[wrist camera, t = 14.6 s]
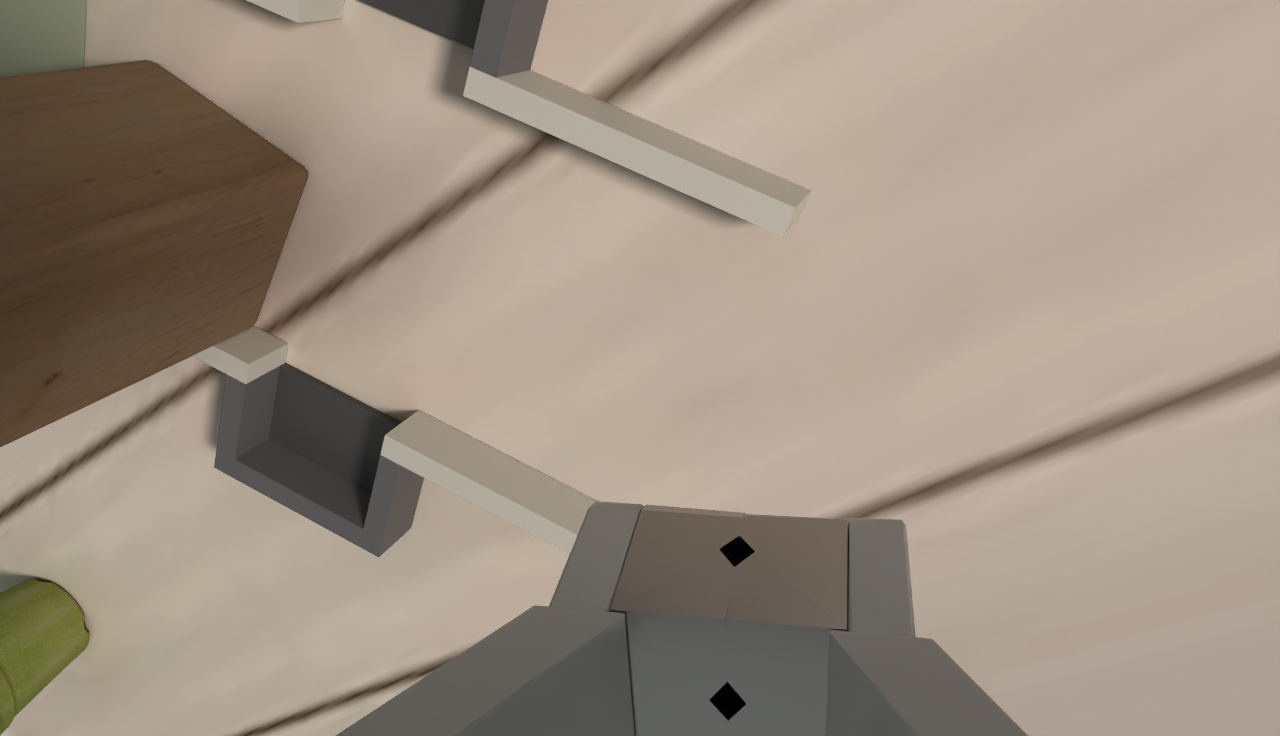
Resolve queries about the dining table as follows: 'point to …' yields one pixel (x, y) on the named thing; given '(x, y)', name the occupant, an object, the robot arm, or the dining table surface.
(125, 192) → the wooden block
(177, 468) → the dining table surface
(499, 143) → the dining table surface
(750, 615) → the robot arm
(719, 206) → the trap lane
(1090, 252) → the dining table surface
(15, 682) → the plant pot
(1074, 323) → the dining table surface
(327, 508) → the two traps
